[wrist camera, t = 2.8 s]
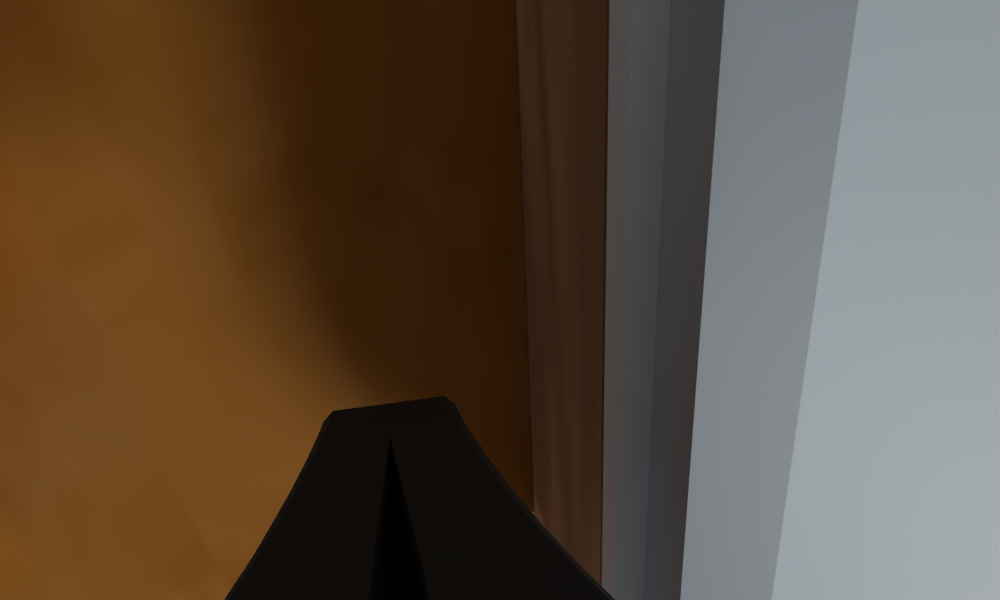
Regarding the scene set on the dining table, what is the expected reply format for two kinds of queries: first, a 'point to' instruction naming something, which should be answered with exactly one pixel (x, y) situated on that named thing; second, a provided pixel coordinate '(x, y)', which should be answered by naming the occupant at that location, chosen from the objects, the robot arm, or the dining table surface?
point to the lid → (802, 300)
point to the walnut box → (566, 260)
